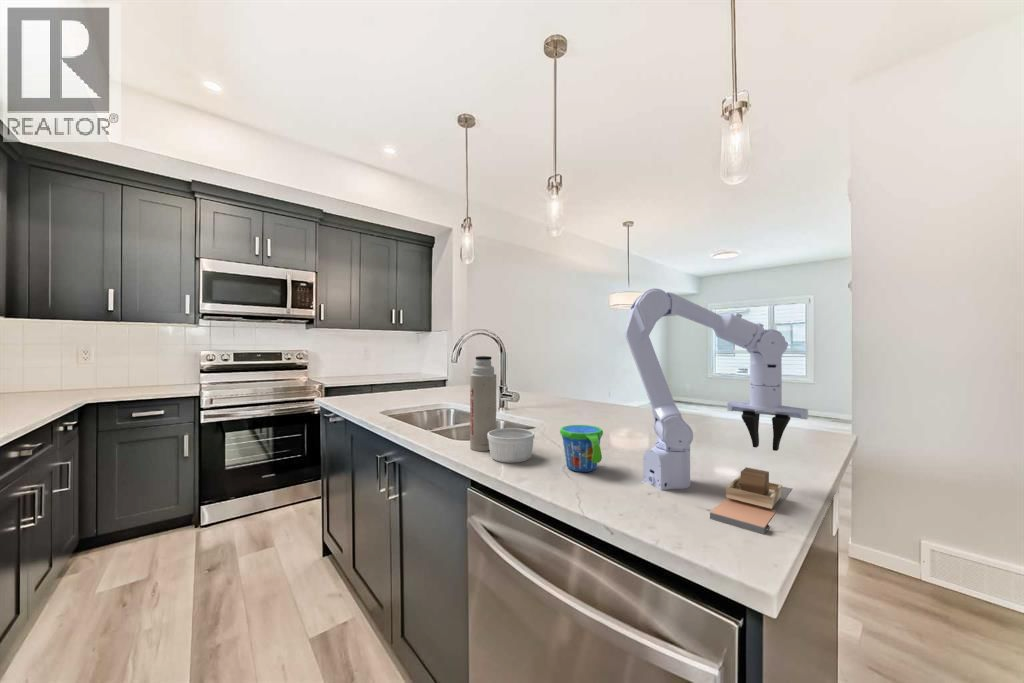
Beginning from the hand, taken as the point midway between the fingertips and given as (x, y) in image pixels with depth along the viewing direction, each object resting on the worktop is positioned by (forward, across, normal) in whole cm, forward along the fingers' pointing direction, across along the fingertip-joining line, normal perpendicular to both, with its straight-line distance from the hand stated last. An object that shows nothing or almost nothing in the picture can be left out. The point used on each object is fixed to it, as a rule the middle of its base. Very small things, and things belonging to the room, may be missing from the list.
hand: (765, 448), depth 84 cm
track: (+9, 0, +10) cm, 13 cm away
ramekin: (+10, +57, +20) cm, 61 cm away
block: (+7, 0, +9) cm, 12 cm away
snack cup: (+10, +38, +14) cm, 41 cm away
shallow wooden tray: (+8, 0, +10) cm, 13 cm away
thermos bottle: (+10, +70, +19) cm, 73 cm away
